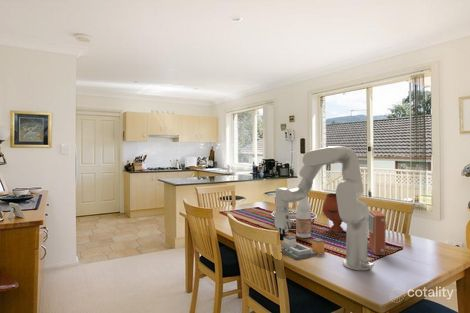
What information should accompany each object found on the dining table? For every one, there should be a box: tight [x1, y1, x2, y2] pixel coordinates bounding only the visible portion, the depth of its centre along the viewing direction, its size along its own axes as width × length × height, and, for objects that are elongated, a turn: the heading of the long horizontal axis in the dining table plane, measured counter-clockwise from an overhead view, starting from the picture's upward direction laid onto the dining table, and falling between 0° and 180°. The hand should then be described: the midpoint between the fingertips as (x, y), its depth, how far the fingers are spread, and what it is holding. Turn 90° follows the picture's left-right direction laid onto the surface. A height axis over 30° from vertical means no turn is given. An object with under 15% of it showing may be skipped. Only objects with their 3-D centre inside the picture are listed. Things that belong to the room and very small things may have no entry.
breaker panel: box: [280, 241, 317, 260], centre depth 168 cm, size 22×13×4 cm, turn 28°
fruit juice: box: [295, 193, 312, 239], centre depth 195 cm, size 9×9×28 cm
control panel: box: [368, 209, 387, 256], centre depth 167 cm, size 21×7×15 cm
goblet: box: [322, 192, 344, 233], centre depth 208 cm, size 19×19×25 cm
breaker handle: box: [283, 234, 297, 247], centre depth 170 cm, size 5×5×5 cm
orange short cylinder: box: [311, 237, 325, 255], centre depth 166 cm, size 5×5×7 cm
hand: (282, 239), depth 176 cm, fingers closed
